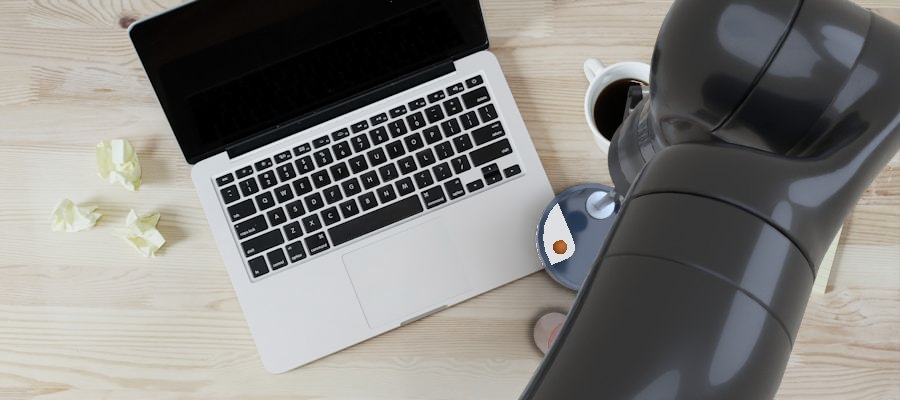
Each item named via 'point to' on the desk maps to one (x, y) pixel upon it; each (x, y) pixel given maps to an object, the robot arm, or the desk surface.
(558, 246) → the bead
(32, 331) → the desk surface
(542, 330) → the crock
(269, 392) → the desk surface
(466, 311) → the desk surface
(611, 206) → the ladle
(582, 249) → the bowl
